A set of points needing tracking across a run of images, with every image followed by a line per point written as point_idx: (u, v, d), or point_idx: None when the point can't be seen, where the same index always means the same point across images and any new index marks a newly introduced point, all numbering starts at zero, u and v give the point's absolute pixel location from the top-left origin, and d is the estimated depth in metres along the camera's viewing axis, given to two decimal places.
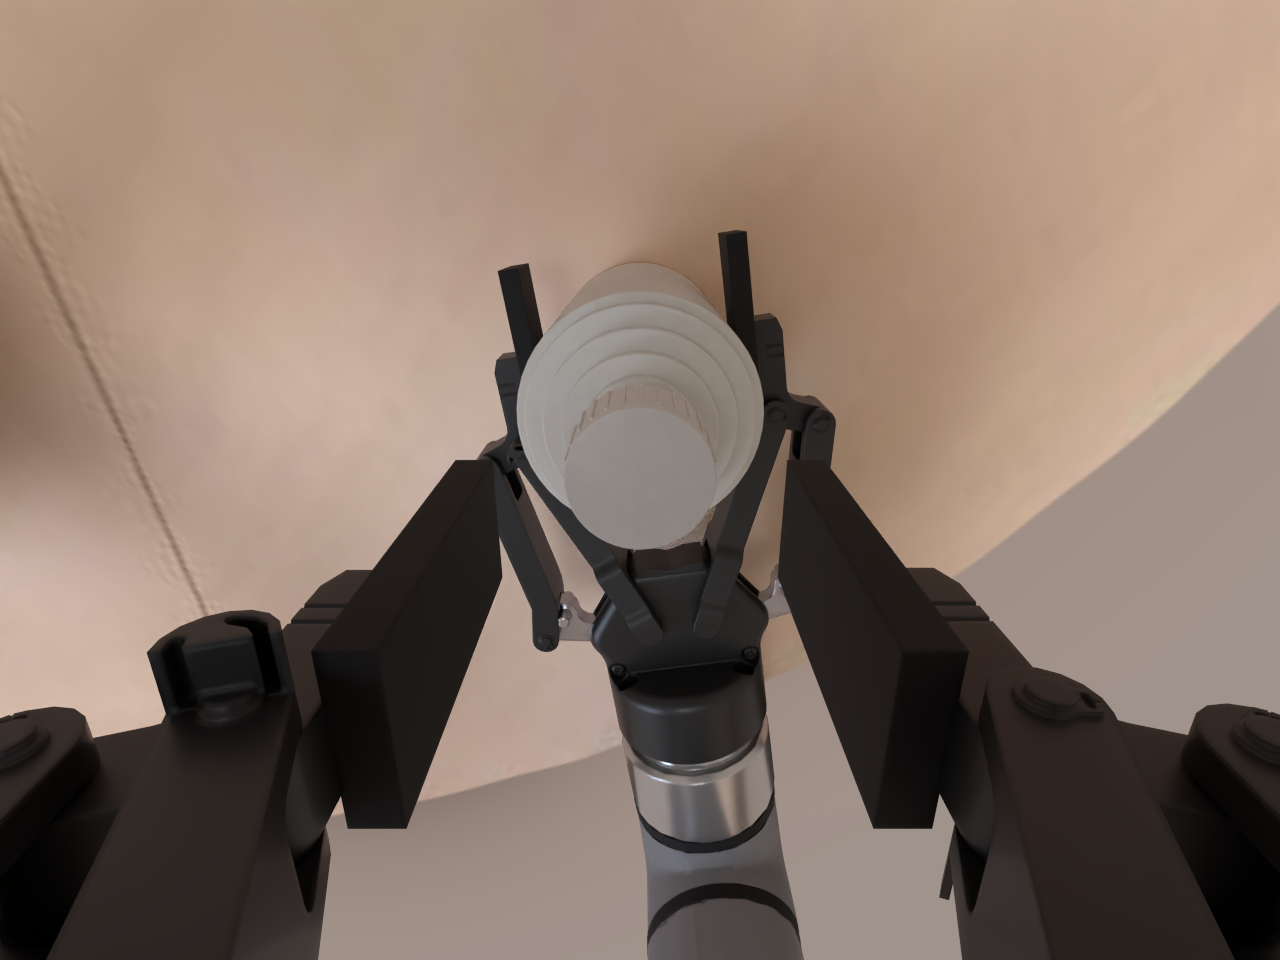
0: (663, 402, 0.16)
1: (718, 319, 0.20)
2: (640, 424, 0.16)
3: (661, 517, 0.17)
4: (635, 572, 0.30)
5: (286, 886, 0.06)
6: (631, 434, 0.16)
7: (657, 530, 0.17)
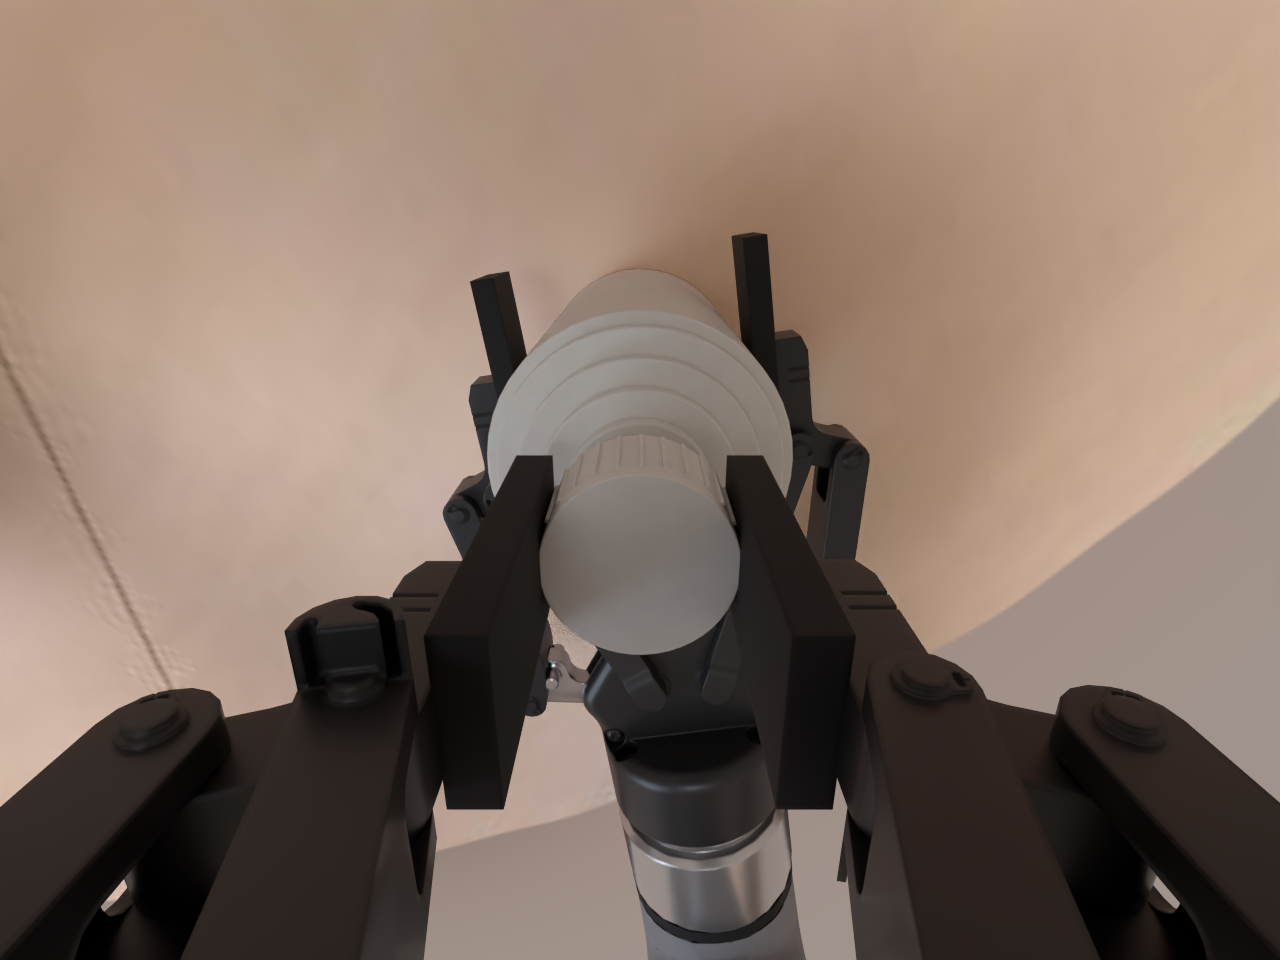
0: (670, 463, 0.12)
1: (737, 345, 0.16)
2: (640, 496, 0.12)
3: (668, 614, 0.13)
4: None
5: (404, 869, 0.06)
6: (628, 509, 0.12)
7: (662, 631, 0.13)
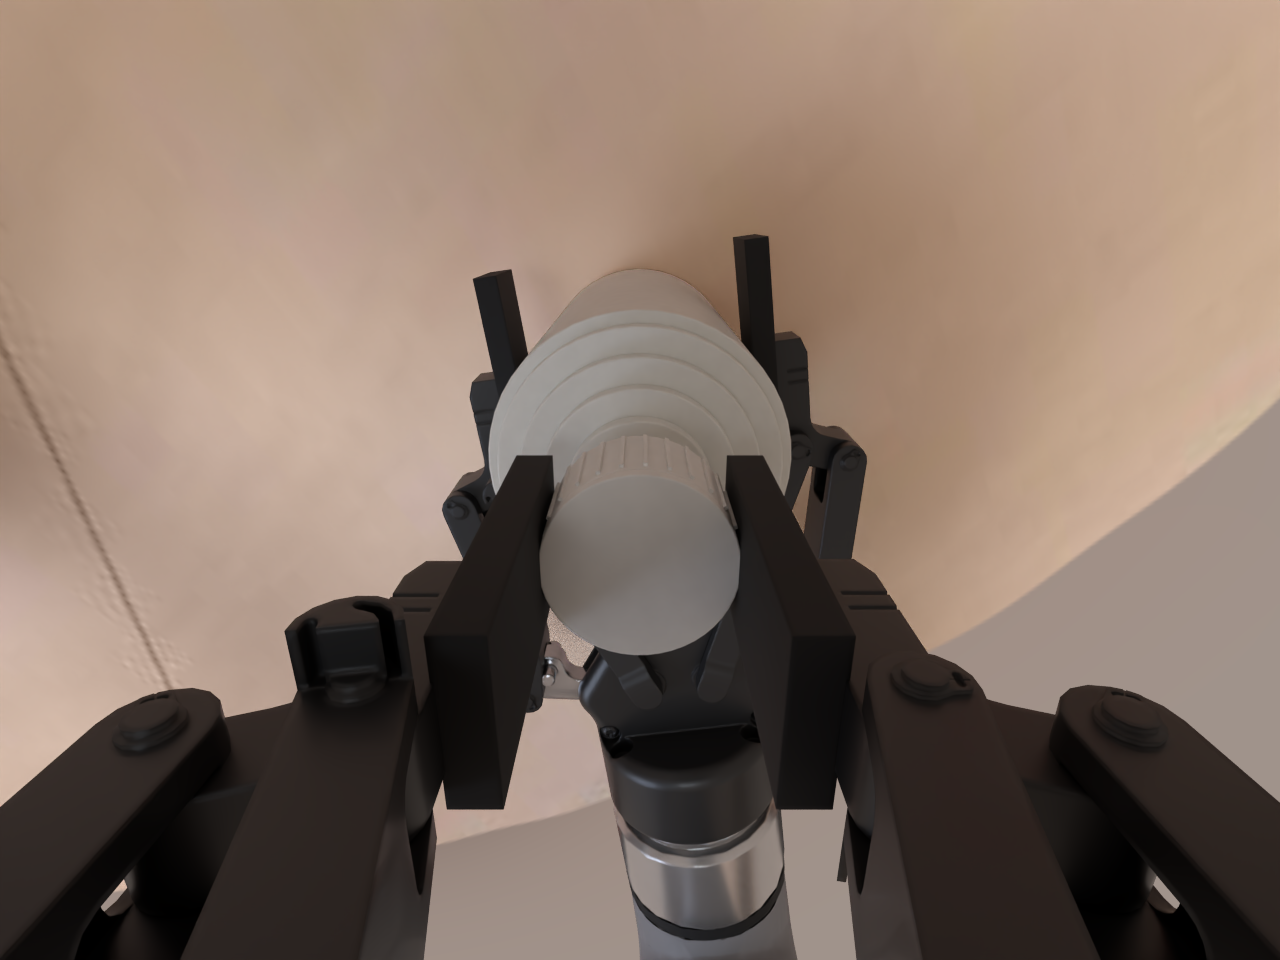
0: None
1: (738, 345, 0.16)
2: (595, 625, 0.13)
3: (647, 516, 0.12)
4: None
5: (404, 869, 0.06)
6: (611, 621, 0.13)
7: (663, 504, 0.12)
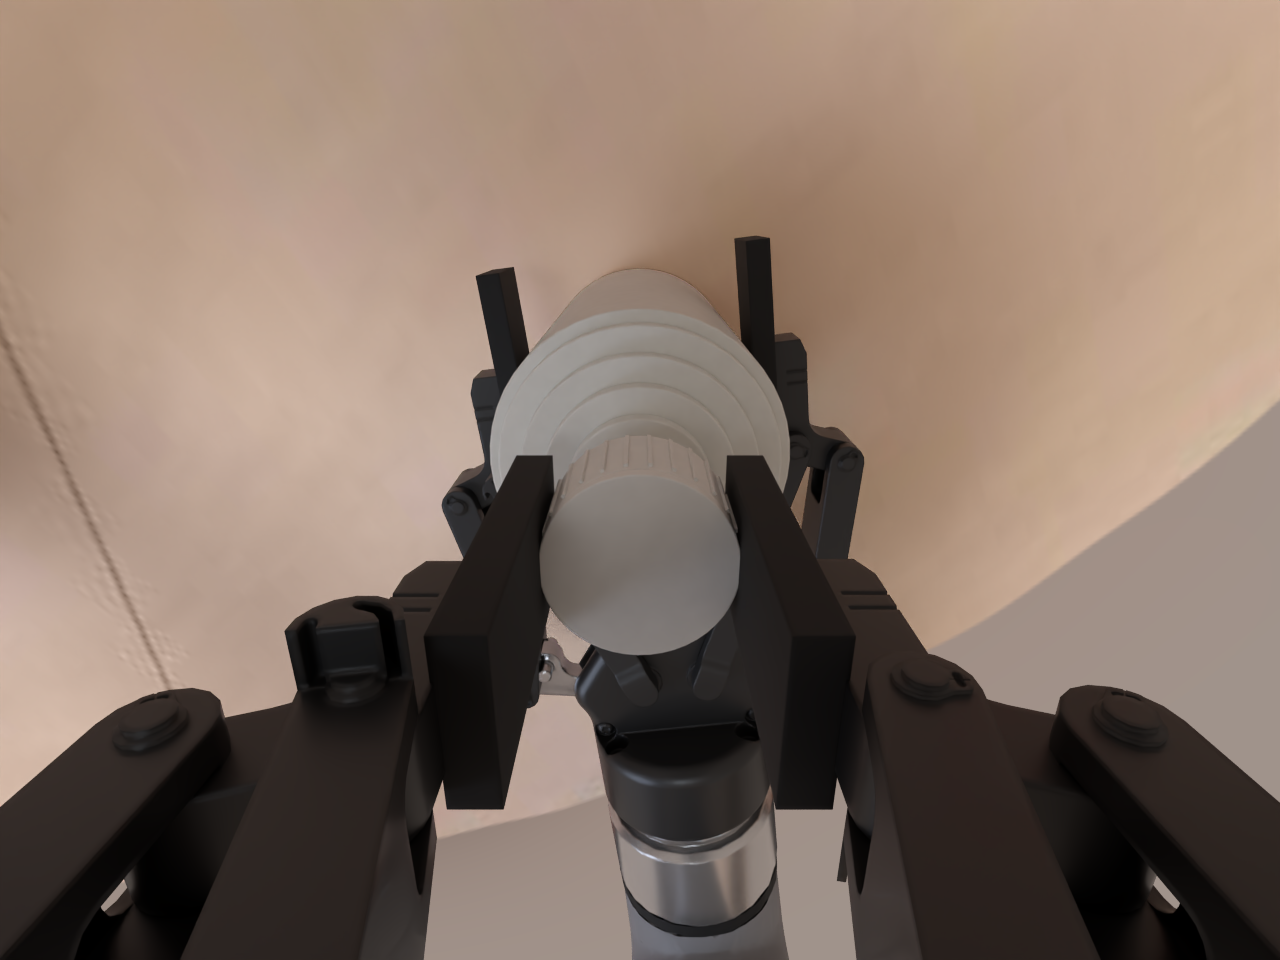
0: None
1: (739, 345, 0.17)
2: (716, 548, 0.12)
3: (600, 608, 0.13)
4: None
5: (404, 869, 0.06)
6: (699, 541, 0.12)
7: (580, 609, 0.13)
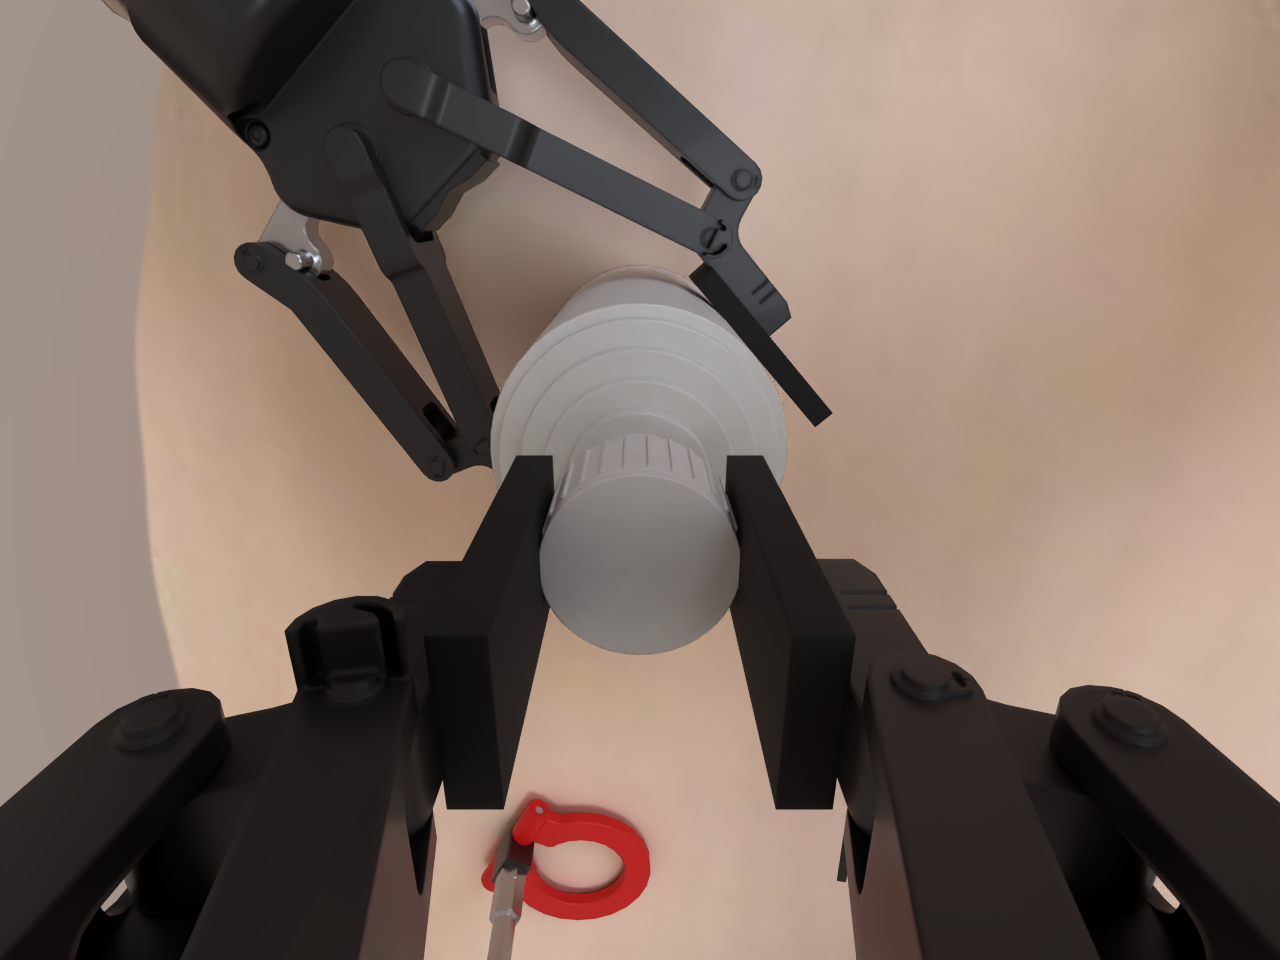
0: None
1: None
2: (716, 547, 0.12)
3: (600, 607, 0.13)
4: (484, 157, 0.21)
5: (404, 869, 0.06)
6: (699, 541, 0.12)
7: (580, 608, 0.13)
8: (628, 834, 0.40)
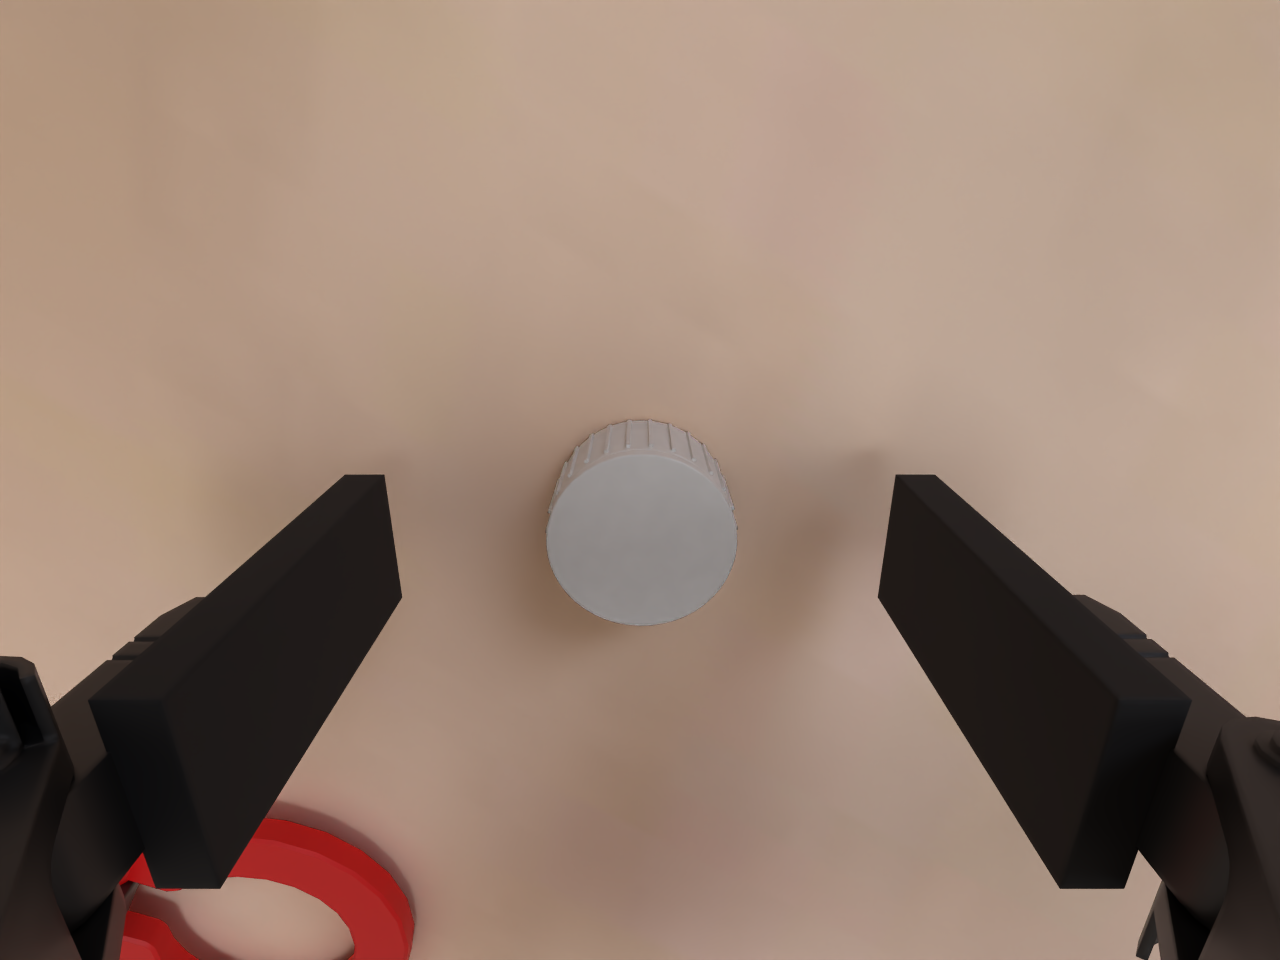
0: None
1: None
2: (713, 523, 0.13)
3: (604, 580, 0.13)
4: None
5: (55, 950, 0.06)
6: (697, 517, 0.13)
7: (585, 581, 0.13)
8: (342, 864, 0.18)
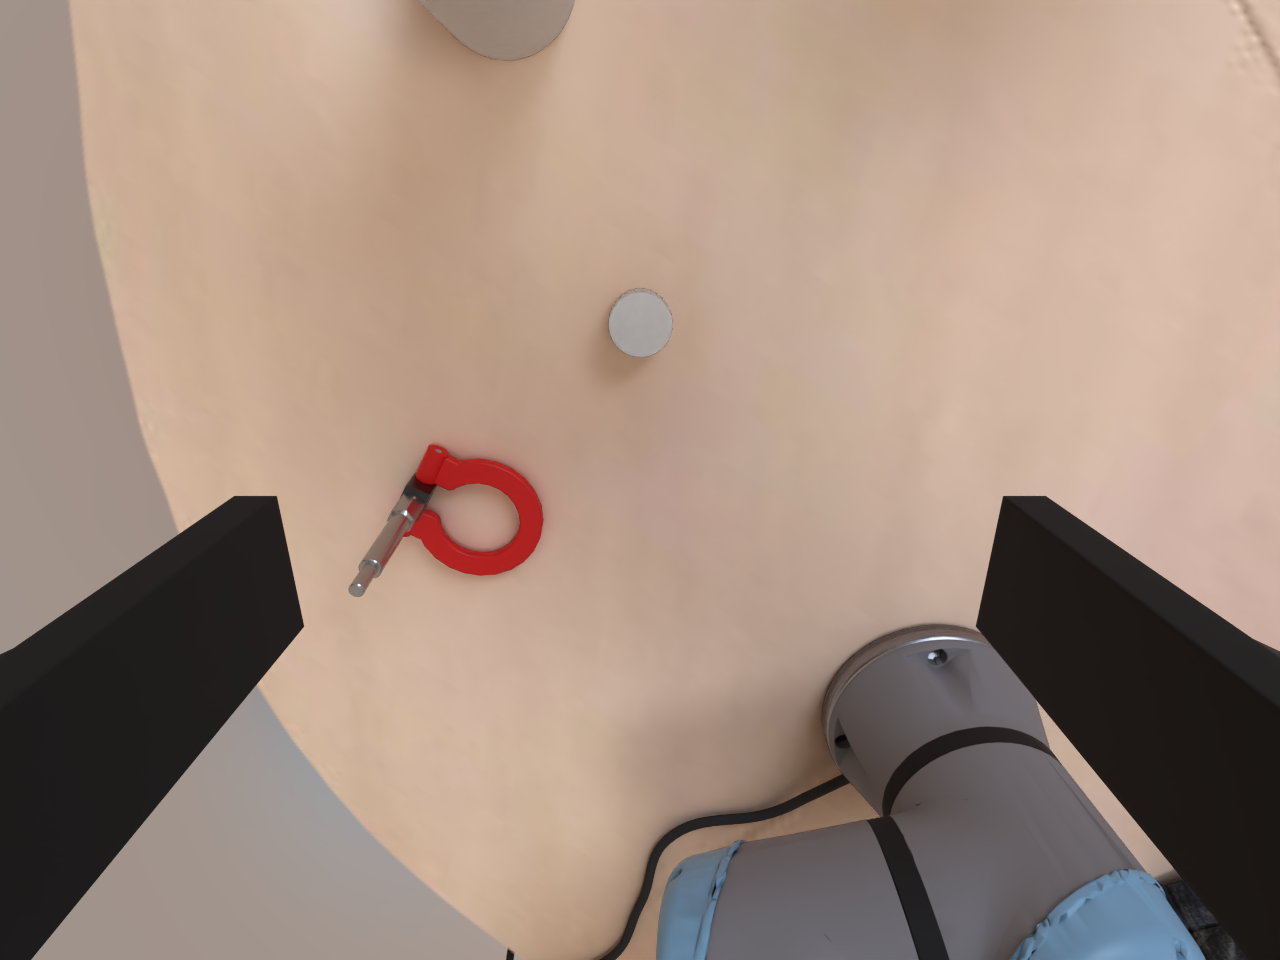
0: (671, 323, 0.40)
1: None
2: (664, 317, 0.39)
3: (627, 339, 0.40)
4: None
5: None
6: (658, 315, 0.39)
7: (621, 339, 0.40)
8: (519, 478, 0.44)
